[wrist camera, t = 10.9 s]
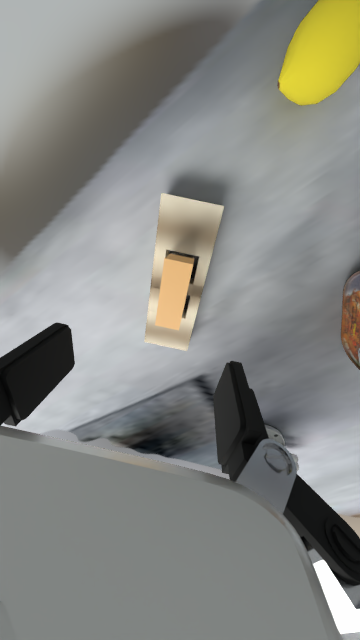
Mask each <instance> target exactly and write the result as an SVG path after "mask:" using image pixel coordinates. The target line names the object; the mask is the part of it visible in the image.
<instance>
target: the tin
mask: <svg viewBox="0 0 360 640" xmlns="http://www.w3.org/2000/svg"><path fill="white" fill-rule="evenodd" d="M341 340H342V344H343V347H344V349H345V352H346V353H347V355H348V357H349V358H350V360H351V361H352V362H353V363H354V365H355V366H356V367H357V368H358V369H359V370H360V271H358V272H356V273H354V274H353V275H352V276H351V277H350V278H349V279H348V280H347V282H346V284H345V286H344V290H343V307H342V327H341Z"/></svg>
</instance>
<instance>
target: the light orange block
mask: <svg viewBox="0 0 360 640" xmlns="http://www.w3.org/2000/svg"><path fill="white" fill-rule="evenodd" d="M194 258H195V257H194V256H190V255H185V254H180V253H176V252H173V253H172V254H169V255H168V256H167V257H165V258H164V265H163V272H162V279H161V286H160V293H159V301H158V308H157V315H156V322H155V325H156V326H160V327H165V328H170V329H174V330H179V328H180V323H181V319H182V314H183V309H184V305H185V300H186V295H187V291H188V286H189V282H190V277H191V272H192V268H193V263H194Z"/></svg>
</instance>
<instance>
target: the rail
mask: <svg viewBox="0 0 360 640" xmlns="http://www.w3.org/2000/svg"><path fill="white" fill-rule="evenodd" d="M223 209H224V206H221V205H216V204H211V203H207V202H202V201H197V200H193V199H188V198H183V197H178V196H174V195H169V194H164V193H161V201H160V210H159V219H158V227H157V236H156V245H155V254H154V262H153V271H152V280H151V288H150V297H149V306H148V315H147V323H146V332H145V341H144V342H148V343H152V344H157V345H161V346H166V347H171V348H175V349H180V350H184V351H187V349H188V345H189V341H190V337H191V334H192V330H193V326H194V322H195V318H196V314H197V310H198V306H199V302H200V299H201V295H202V291H203V287H204V283H205V279H206V275H207V271H208V267H209V264H210V260H211V256H212V252H213V248H214V244H215V240H216V236H217V233H218V229H219V225H220V221H221V217H222V213H223ZM170 250H171V251H176V252H180V253H185V254H190V255H194V256H199V259H198V263H197V268H196V272H195V277H194V279H191V278H190V282H189V286H188V291H187V295H189V296H190V299H189V303H188V308H187V310H183V314H182V319H181V323H180V328H179V330H174V329H170V328H165V327H160V326H156V325H155V322H156V315H157V308H158V301H159V293H160V286H161V279H162V272H163V265H164V258H165V257H167V256H168V255H169V251H170Z"/></svg>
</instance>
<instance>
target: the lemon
mask: <svg viewBox="0 0 360 640" xmlns="http://www.w3.org/2000/svg"><path fill="white" fill-rule="evenodd" d="M359 63H360V0H319V1H318V2H317V3H316V4H315V5H314V7H313V8H312V9H311V10H310V11H309V13H308V14H307V15H306V16H305V18H304V19H303V20H302V21H301V23H300V24H299V26H298V28H297V30H296V31H295V33H294V36H293V38H292V40H291V42H290V44H289V46H288V49H287V52H286V56H285V60H284V63H283V66H282V70H281V73H280V77H279V80H278V89H279V90H280V91H281V92H282V93H283V94H284V95H285V96H286V97H287V98H288V99H289V100H290V101H292V102H295V103H296V104H299V105H301V106H302V105H310V104H317V103H319V102H320V101H322V100H323V99H325V98H327V97H328V96H330V95H331V94H333V93H335V92H336V91H337V90H338V88H339V87H340V86H341V85H342V84H343V83H344V82H345V81H346V80H347V78H348V77H349V76H350V75H351V74H352V73H353V72H354V71H355V69H356V68H357V67H358V65H359Z"/></svg>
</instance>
